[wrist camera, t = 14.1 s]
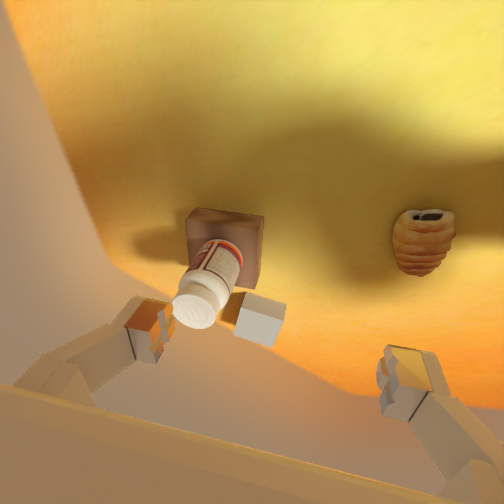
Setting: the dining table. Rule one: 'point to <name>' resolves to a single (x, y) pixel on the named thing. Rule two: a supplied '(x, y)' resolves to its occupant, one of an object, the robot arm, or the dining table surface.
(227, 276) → the pill bottle
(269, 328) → the grey block
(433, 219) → the pastry
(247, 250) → the walnut block
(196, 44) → the dining table surface
